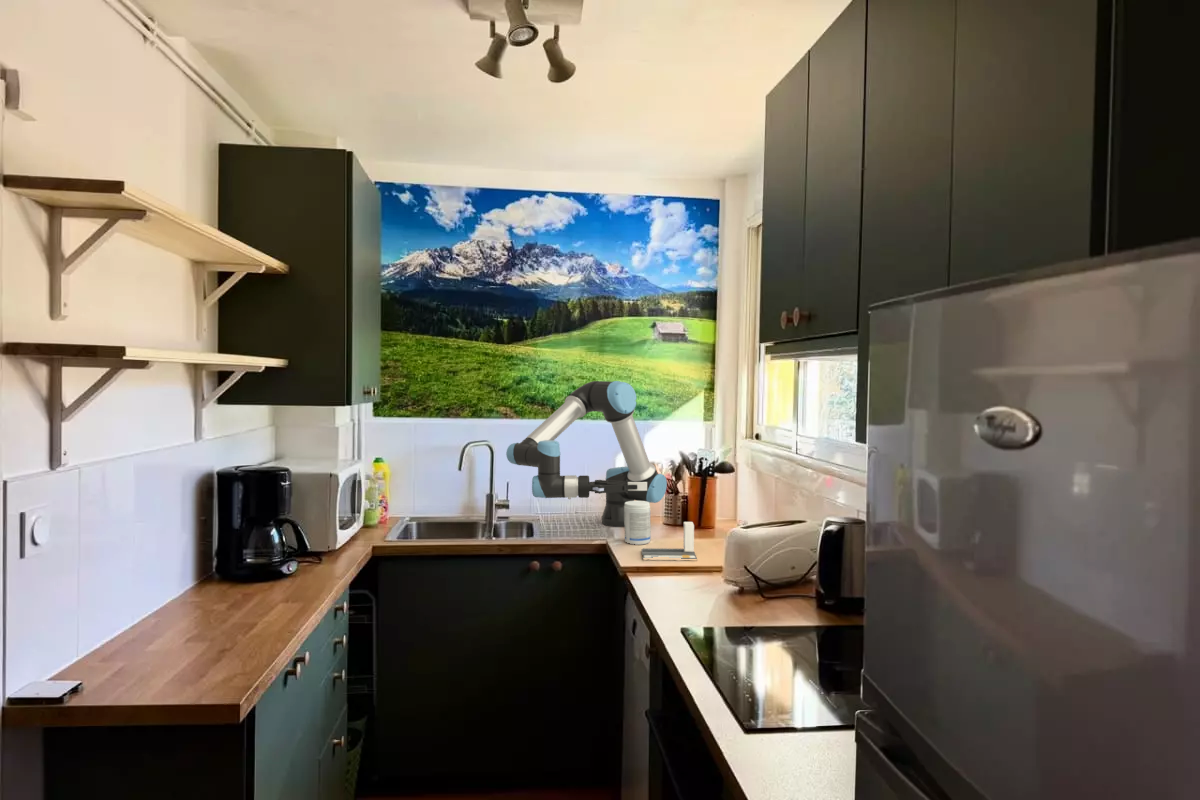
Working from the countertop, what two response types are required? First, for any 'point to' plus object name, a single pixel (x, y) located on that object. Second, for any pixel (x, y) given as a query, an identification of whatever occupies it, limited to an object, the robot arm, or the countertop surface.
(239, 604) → the countertop surface
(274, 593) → the countertop surface
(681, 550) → the switch housing
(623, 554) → the countertop surface
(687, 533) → the switch tab
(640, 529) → the supplement tub
